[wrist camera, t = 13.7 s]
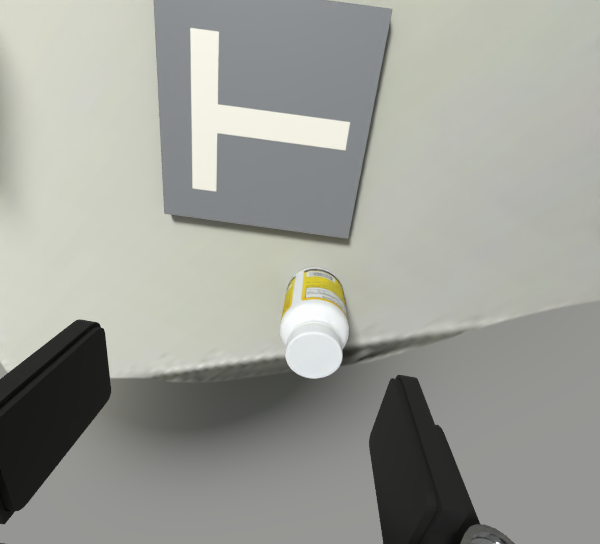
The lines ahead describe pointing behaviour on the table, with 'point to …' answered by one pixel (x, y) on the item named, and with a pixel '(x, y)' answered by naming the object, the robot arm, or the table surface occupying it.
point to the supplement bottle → (314, 323)
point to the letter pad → (266, 109)
